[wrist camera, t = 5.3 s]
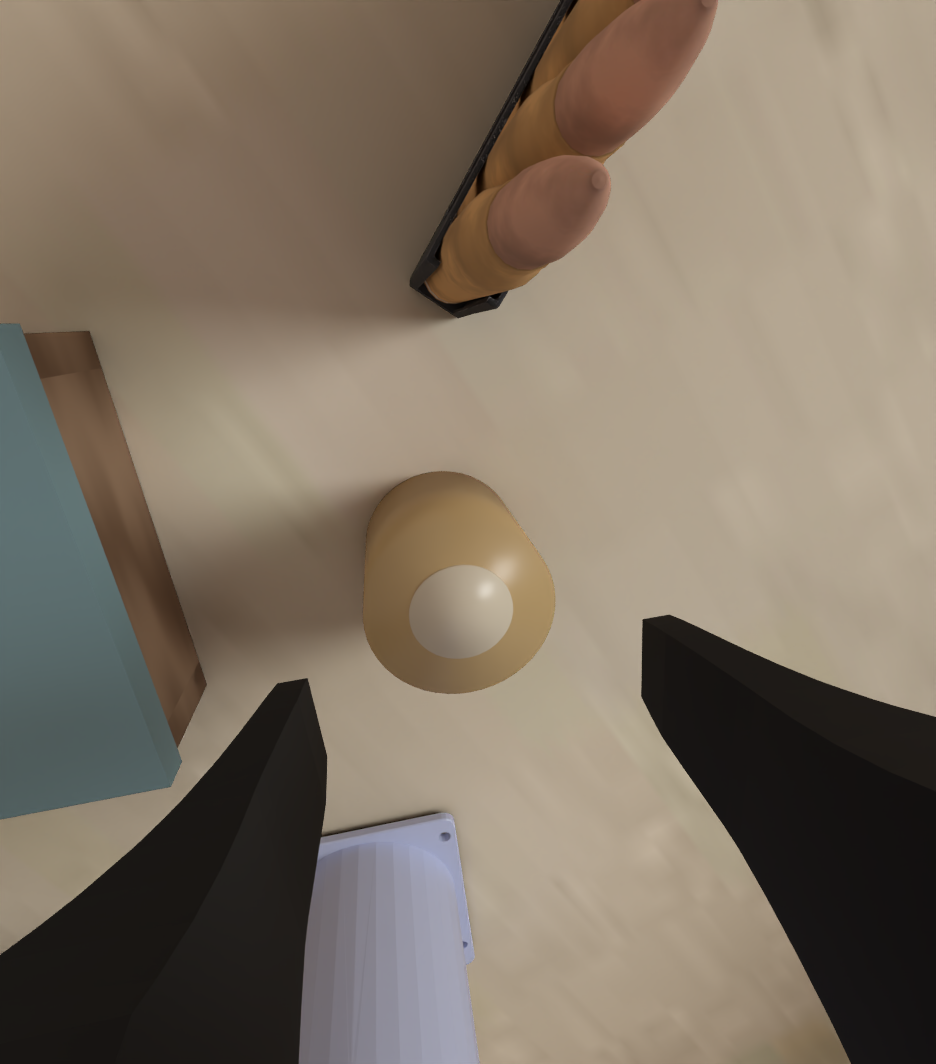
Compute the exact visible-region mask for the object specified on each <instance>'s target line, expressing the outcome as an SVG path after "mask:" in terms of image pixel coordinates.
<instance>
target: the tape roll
mask: <svg viewBox="0 0 936 1064" xmlns="http://www.w3.org/2000/svg"><path fill="white" fill-rule="evenodd" d="M554 611H555V590H554V584H553V581H552V577H551V574H550V572H549V570H548V567H547V565H546V563H545V562H544V560H543V559H542V557H541V556H540V554H539V553H538V551H537V550H536V548H535V547H534V546H533V544H532V543H531V541H530V540H529V538H528V537H527V536H526V534H525V533H524V531H523V530H522V528H521V527H520V526H519V524H518V523H517V521H516V520H515V518H514V517H513V516H512V514H511V513H510V511H509V510H508V508H507V507H506V506H505V504H504V503H503V501H502V500H501V499H500V497H499V496H498V495H497V494H496V493H495V492H494V491H493V490H492V489H491V488H490V487H489V486H487V485H486V484H484V483H483V482H481V481H479V480H477V479H475V478H473V477H471V476H468V475H465V474H461V473H456V472H447V471H439V472H430V473H425V474H421V475H418V476H415V477H412V478H410V479H408V480H406V481H404V482H402V483H401V484H399V485H398V486H396V487H395V488H393V489H392V490H391V491H390V492H389V493H388V494H387V495H386V496H385V497H384V498H383V499H382V500H381V502H380V503H379V504H378V506H377V507H376V509H375V511H374V513H373V515H372V517H371V519H370V522H369V525H368V529H367V535H366V551H365V574H364V598H363V623H364V630H365V634H366V637H367V640H368V643H369V645H370V647H371V649H372V651H373V653H374V654H375V656H376V657H377V659H378V660H379V661H380V662H381V664H382V665H383V666H384V667H385V668H386V669H387V670H388V671H389V672H391V673H392V674H393V675H394V676H396V677H397V678H399V679H400V680H402V681H403V682H405V683H407V684H409V685H412V686H414V687H417V688H420V689H423V690H426V691H431V692H436V693H446V694H456V693H467V692H473V691H477V690H481V689H485V688H487V687H490V686H493V685H495V684H497V683H499V682H501V681H504V680H505V679H507V678H509V677H510V676H512V675H513V674H515V673H516V672H517V671H519V670H520V669H521V668H523V667H524V666H525V665H526V664H527V663H528V662H529V661H530V660H531V659H532V658H533V657H534V655H535V654H536V653H537V652H538V650H539V649H540V647H541V646H542V644H543V642H544V641H545V639H546V637H547V635H548V633H549V630H550V628H551V624H552V621H553V617H554Z"/></svg>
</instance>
